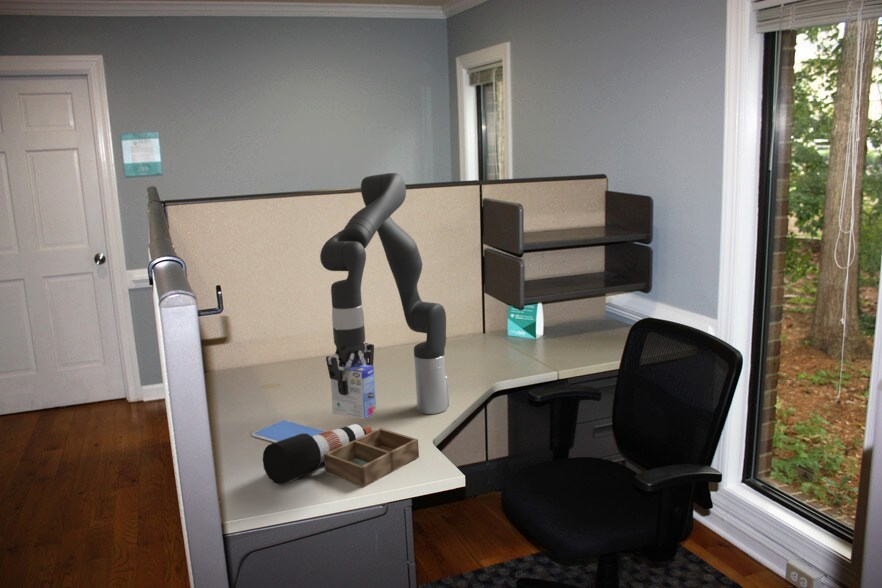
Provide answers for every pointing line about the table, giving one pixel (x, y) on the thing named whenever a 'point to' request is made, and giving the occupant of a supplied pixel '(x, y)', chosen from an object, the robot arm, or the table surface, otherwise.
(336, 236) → the robot arm
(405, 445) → the slot caddy
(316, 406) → the table surface
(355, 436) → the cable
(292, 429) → the blue flat pad
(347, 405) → the ink cartridge box
